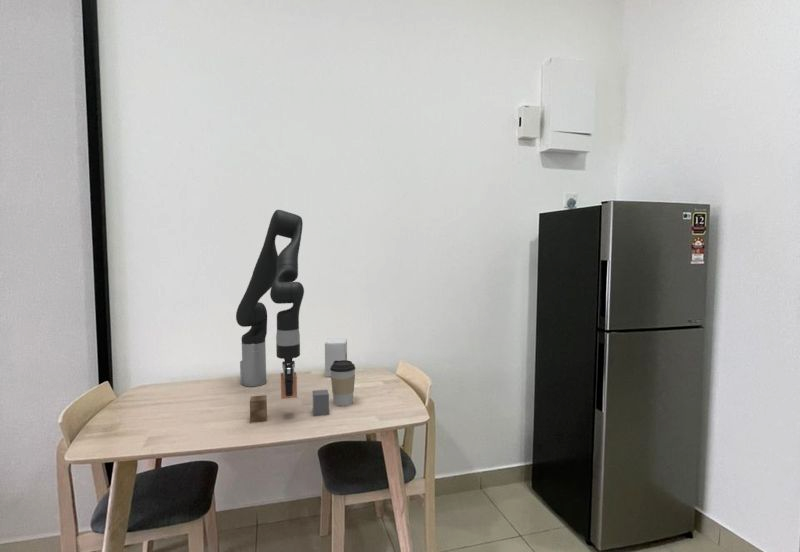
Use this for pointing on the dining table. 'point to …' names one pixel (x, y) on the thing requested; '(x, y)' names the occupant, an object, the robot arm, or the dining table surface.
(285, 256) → the robot arm
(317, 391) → the charcoal block
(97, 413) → the dining table surface
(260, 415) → the walnut block
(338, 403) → the coffee cup
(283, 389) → the terracotta block
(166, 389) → the dining table surface
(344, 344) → the supplement box
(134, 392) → the dining table surface
